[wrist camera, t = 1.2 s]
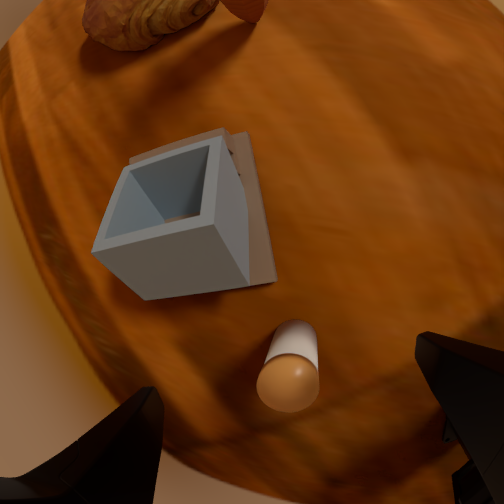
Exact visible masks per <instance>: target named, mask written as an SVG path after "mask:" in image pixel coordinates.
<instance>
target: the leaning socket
mask: <svg viewBox="0 0 504 504" xmlns="http://www.w3.org/2000/svg"><path fill="white" fill-rule="evenodd" d="M129 162H130V165H129V166H126V167H124V169H123V171H122V173H121V175H120V177H119V180H118V182H117V184H116V187H115V189H114V192H113V194H112V197H111V199H110V202H109V204H108V207H107V209H106V212H105V214H104V217H103V220H102V223H101V225H100V228H99V231H98V234H97V237H96V240H95V242H94V245H93V248H92V251H91V254H93V255H94V256H95V257H96V258H97V259H98V260H99V261H100V262H101V263H102V264H103V265H104V266H106V267H107V268H108V269H109V270H110V271H111V272H112V273H113V274H114V275H116V276H117V277H118V278H119V279H120V280H121V281H122V282H124V283H125V284H126V285H127V286H128V287H129V288H130V289H132V290H133V291H134V292H135V293H136V294H138V295H139V296H140V297H141V298H142V299H144V300H145V301H146V300H154V299H162V298H169V297H177V296H184V295H192V294H199V293H206V292H213V291H220V290H227V289H234V288H240V287H247V286H251V285H258V284H264V283H270V282H276V281H277V280H278V279H277V273H276V268H275V262H274V257H273V252H272V246H271V241H270V236H269V231H268V225H267V220H266V215H265V210H264V205H263V200H262V195H261V190H260V185H259V180H258V175H257V170H256V165H255V160H254V155H253V150H252V145H251V141H250V136H249V133H248V132H247V131H246V132H242V133H238V134H234V135H230V134H229V133H228V132H227V131H226V129H225V128H224V127H223V128H219V129H216V130H212V131H209V132H205V133H202V134H199V135H195V136H192V137H189V138H186V139H183V140H180V141H177V142H174V143H171V144H168V145H165V146H162V147H159V148H156V149H153V150H151V151H148V152H145V153H142V154H140V155H137V156H134V157H132V158H129Z"/></svg>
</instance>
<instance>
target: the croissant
mask: <svg viewBox="0 0 504 504" xmlns="http://www.w3.org/2000/svg"><path fill="white" fill-rule="evenodd" d="M218 3H219V0H87V2H86V6H85V10H84V14H83V18H82V24H83V27H84V30H85V33H88V34H89V36H90V37H92V39H93V41H98V42H100V43H102V44H104V45H105V46H108V47H110V48H111V49H112V50H117V51H138V50H145V49H147V48H148V47H149V46H150V45H156V44H157V43H158V42H159V41H160V40H162V38H163V36H164V34H167V33H174V32H177V31H178V30H180V29H181V28H184V27H188V26H189V25H190V24H192V23H194V22H195V21H197V20H199V19H200V18H201V17H202V16H204V15H205V14H206V13H208V12H209V11H210V10H212V9H213V8H214V7H215V6H217V4H218Z"/></svg>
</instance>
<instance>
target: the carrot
mask: <svg viewBox="0 0 504 504" xmlns="http://www.w3.org/2000/svg"><path fill="white" fill-rule="evenodd" d="M220 1H221V2H222V3H223V4H224V5H225V7H226V8H227V9H228V10H229V11H230V12H231V13H232V14H234V15H235V16H237V17H238V18H240V19H242V20H244V21H246V22H248V23H255V22H258V21H259V20H260V18H261V16H262V14H263V12H264V10H265V8H266V6H267V3H268V0H220Z"/></svg>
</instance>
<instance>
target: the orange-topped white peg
mask: <svg viewBox="0 0 504 504" xmlns="http://www.w3.org/2000/svg"><path fill="white" fill-rule="evenodd" d="M257 392H258V395H259V397H260V399H261V400H262V401H263V402H264V403H265V404H266V405H267V406H268V407H270V408H272V409H274V410H277V411H280V412H296V411H300V410H303V409H305V408H307V407H308V406H310V405H311V404H312V403H313V402H314V401H315V399H316V397H317V395H318V392H319V374H318V357H317V336H316V332H315V330H314V329H313V327H312V326H311V325H310V324H309V323H307V322H305V321H303V320H298V319H293V320H288V321H285V322H284V323H282V324H281V325H280V326H279V327H278V328H277V329H276V331H275V334H274V337H273V340H272V343H271V345H270V348H269V351H268V354H267V357H266V360H265V363H264V365H263V367H262V369H261V372H260V374H259V377H258V380H257Z"/></svg>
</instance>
